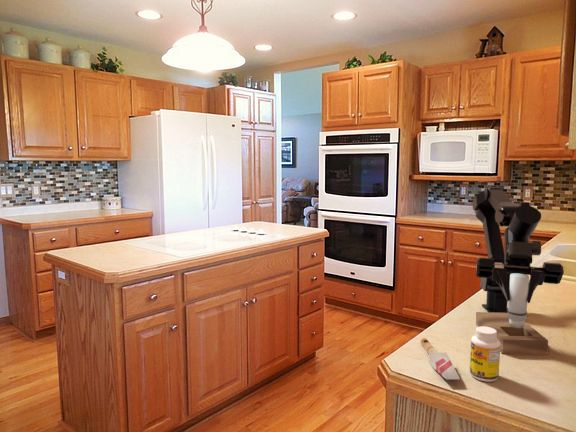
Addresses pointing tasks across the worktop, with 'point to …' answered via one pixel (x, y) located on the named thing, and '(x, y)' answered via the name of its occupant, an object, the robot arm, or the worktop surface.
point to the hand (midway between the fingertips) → (518, 301)
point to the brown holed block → (513, 335)
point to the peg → (518, 299)
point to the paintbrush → (440, 361)
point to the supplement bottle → (485, 354)
